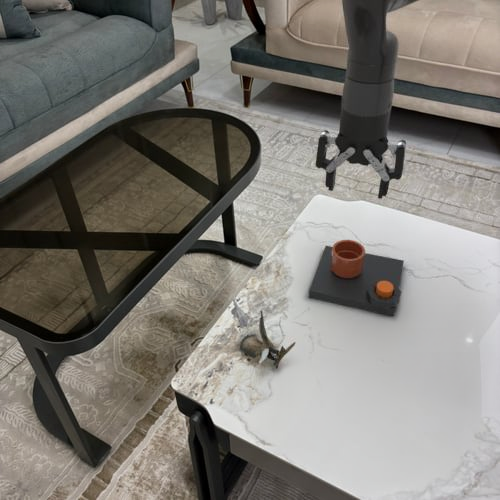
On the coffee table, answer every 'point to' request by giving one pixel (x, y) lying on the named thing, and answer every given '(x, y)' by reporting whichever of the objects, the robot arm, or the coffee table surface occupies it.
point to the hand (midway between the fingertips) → (355, 192)
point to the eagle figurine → (263, 346)
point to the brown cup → (347, 258)
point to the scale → (358, 284)
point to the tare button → (384, 289)
